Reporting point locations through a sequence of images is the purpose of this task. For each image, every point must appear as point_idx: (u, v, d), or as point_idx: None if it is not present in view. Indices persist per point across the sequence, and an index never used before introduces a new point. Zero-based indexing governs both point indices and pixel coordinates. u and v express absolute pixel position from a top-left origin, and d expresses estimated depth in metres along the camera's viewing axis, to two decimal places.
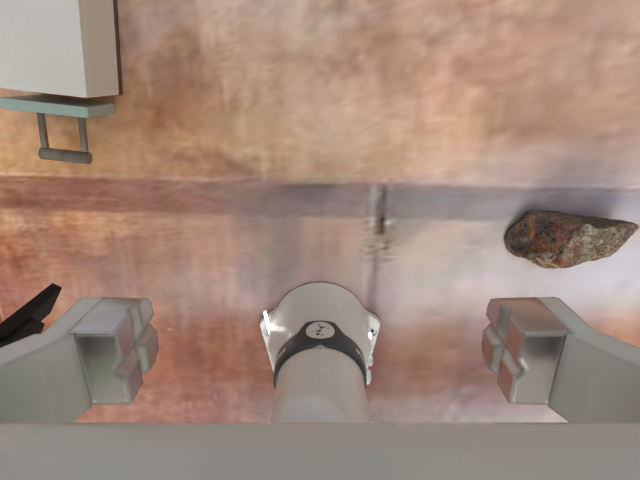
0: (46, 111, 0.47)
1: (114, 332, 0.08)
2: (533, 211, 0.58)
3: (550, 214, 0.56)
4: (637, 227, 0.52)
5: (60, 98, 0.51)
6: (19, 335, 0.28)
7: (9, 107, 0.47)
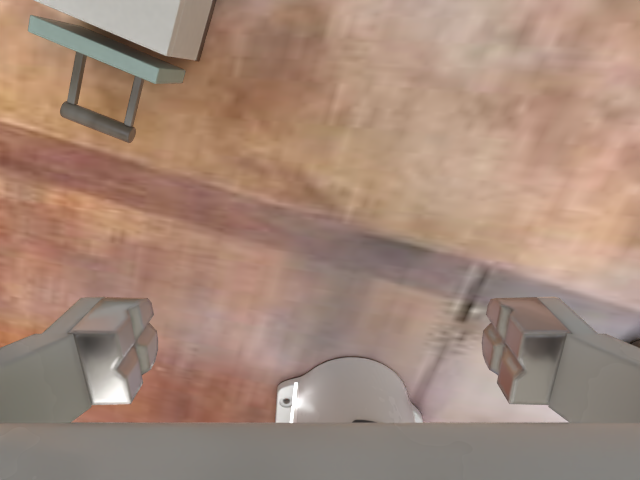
0: (96, 56, 0.31)
1: (114, 332, 0.08)
2: None
3: None
4: None
5: (113, 41, 0.36)
6: None
7: (41, 34, 0.31)
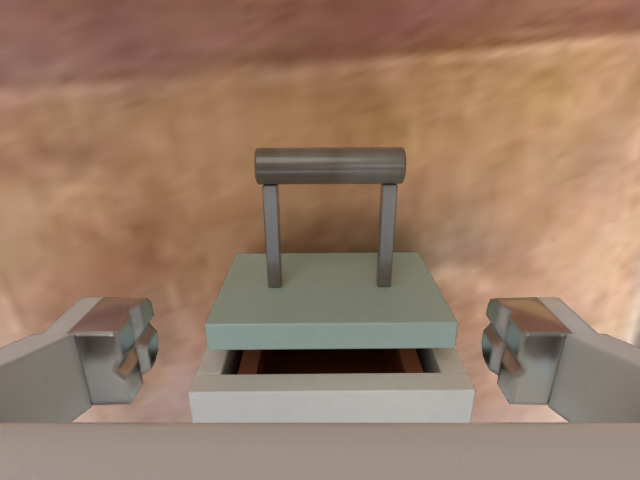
0: (325, 329, 0.16)
1: (114, 332, 0.08)
2: None
3: None
4: None
5: None
6: None
7: (432, 326, 0.16)
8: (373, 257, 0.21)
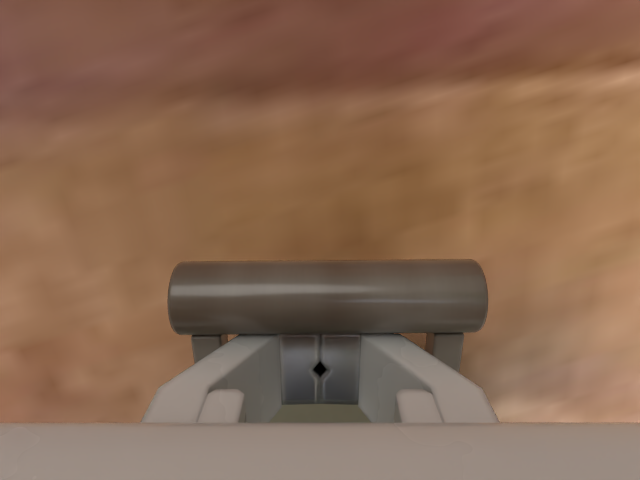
0: None
1: None
2: None
3: None
4: None
5: None
6: None
7: None
8: None
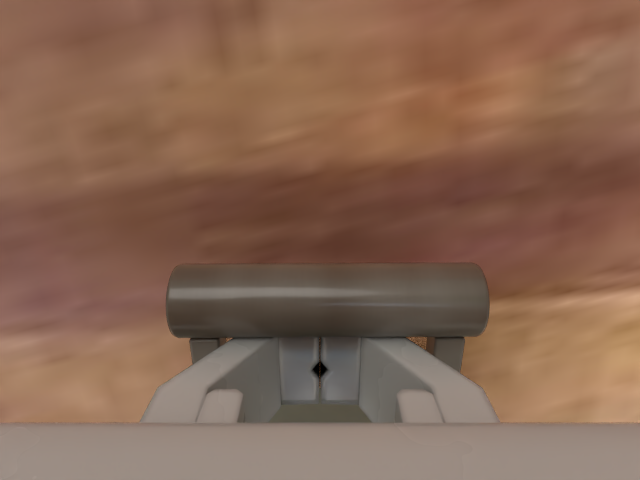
0: None
1: None
2: None
3: None
4: None
5: None
6: None
7: None
8: None
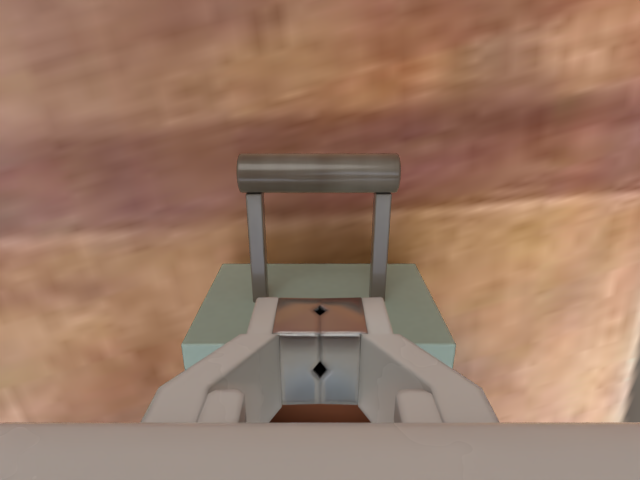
0: None
1: (317, 332, 0.08)
2: None
3: None
4: None
5: None
6: None
7: (427, 349, 0.15)
8: (367, 269, 0.20)
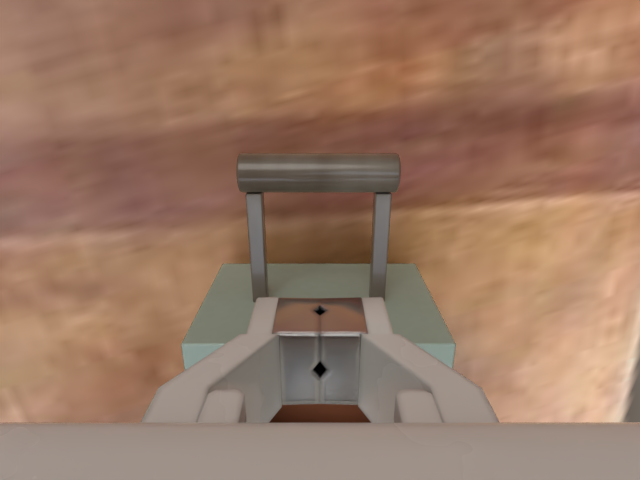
0: None
1: (317, 332, 0.08)
2: None
3: None
4: None
5: None
6: None
7: (427, 348, 0.15)
8: (367, 269, 0.20)
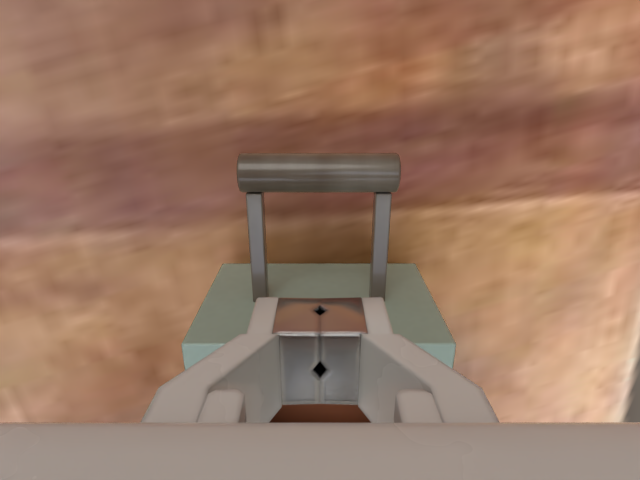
0: None
1: (317, 332, 0.08)
2: None
3: None
4: None
5: None
6: None
7: (427, 348, 0.15)
8: (367, 269, 0.20)
